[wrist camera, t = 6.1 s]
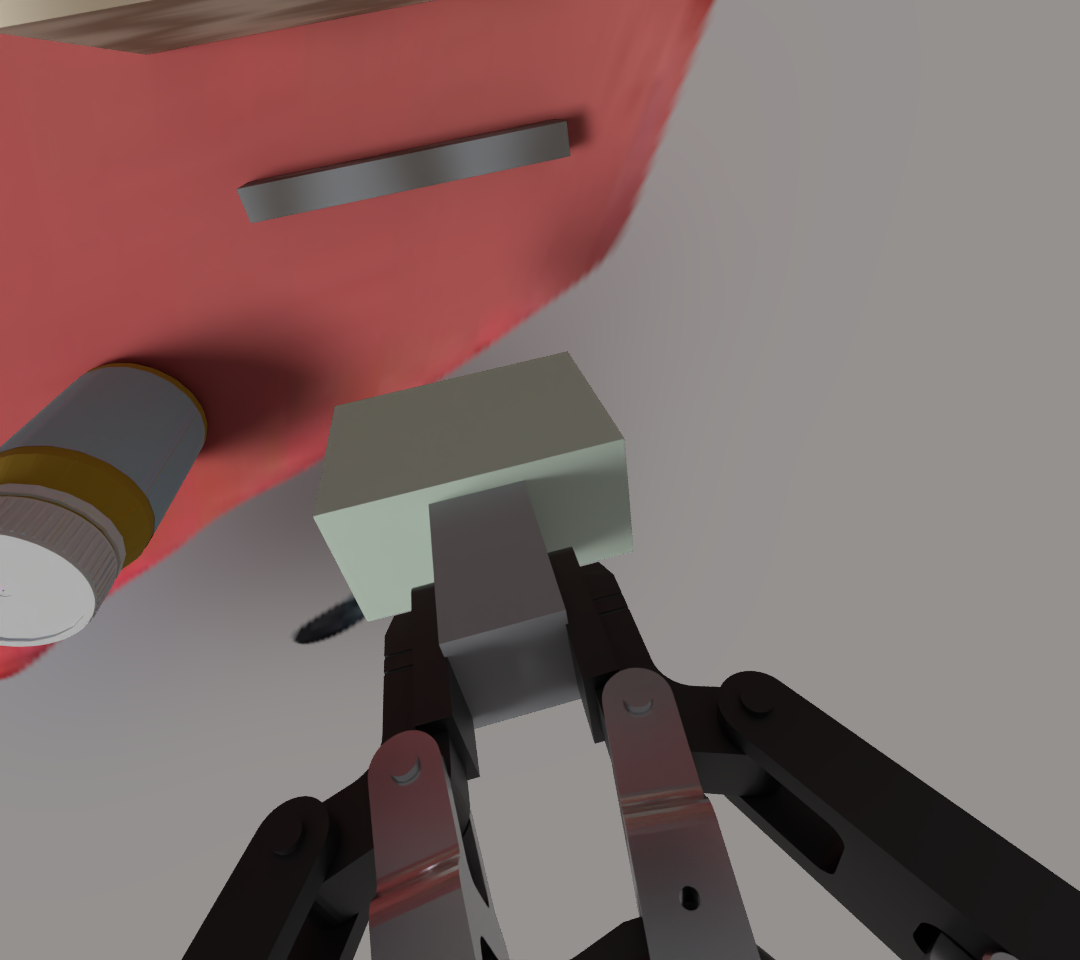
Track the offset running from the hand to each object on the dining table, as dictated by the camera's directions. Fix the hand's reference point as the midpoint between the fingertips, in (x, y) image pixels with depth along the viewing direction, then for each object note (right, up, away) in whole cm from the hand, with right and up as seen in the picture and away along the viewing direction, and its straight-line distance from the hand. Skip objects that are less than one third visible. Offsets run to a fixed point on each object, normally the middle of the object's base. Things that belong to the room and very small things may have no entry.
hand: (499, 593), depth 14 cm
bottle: (-23, +7, +20) cm, 31 cm away
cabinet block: (-2, +5, +7) cm, 8 cm away
